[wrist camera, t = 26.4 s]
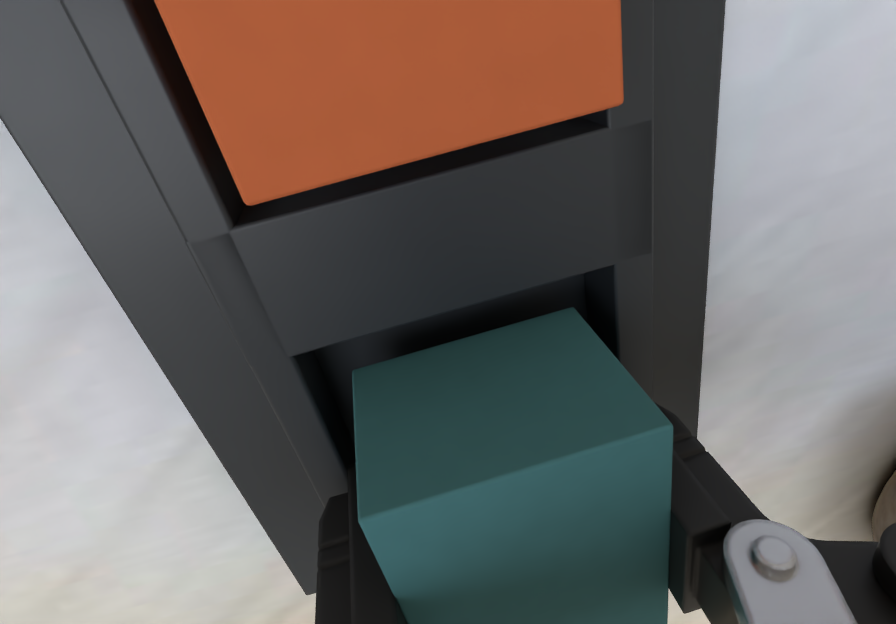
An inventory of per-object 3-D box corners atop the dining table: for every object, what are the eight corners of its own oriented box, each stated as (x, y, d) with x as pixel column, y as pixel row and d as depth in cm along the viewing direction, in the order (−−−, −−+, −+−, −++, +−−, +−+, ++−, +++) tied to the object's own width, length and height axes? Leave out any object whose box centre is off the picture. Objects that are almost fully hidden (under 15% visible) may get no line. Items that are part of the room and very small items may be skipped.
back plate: (-324, -526, 6) (-893, -1000, 3) (694, -699, 6) (944, -1209, 4) (308, 550, 16) (303, 651, 13) (667, 440, 17) (728, 516, 14)
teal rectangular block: (350, 369, 10) (356, 522, 7) (573, 304, 10) (675, 425, 7) (423, 553, 13) (449, 715, 10) (591, 500, 13) (668, 642, 10)
